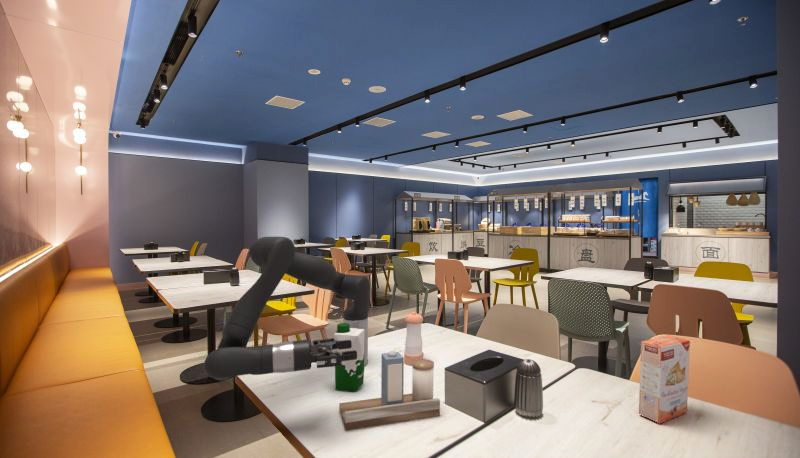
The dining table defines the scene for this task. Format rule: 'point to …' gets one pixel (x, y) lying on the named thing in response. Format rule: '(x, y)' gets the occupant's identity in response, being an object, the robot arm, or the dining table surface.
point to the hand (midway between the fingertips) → (354, 349)
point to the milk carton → (351, 370)
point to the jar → (422, 379)
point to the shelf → (386, 412)
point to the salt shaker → (413, 338)
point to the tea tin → (392, 378)
